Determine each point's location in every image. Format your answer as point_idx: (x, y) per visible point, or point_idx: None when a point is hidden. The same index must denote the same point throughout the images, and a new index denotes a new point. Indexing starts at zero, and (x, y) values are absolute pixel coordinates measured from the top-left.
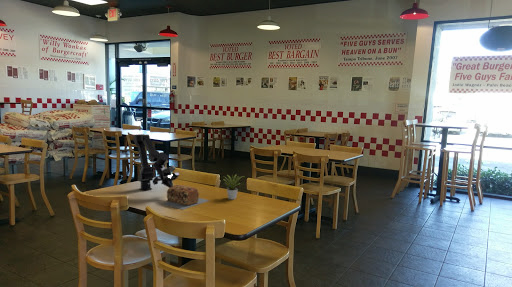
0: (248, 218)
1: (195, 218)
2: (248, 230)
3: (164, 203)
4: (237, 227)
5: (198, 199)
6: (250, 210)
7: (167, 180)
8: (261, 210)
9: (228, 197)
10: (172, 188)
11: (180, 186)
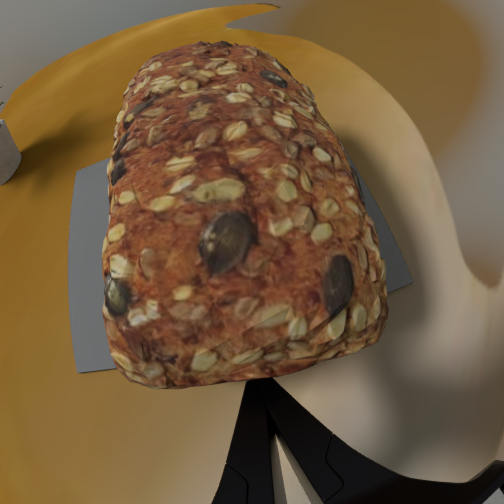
0: (175, 25)
1: (309, 48)
2: (237, 5)
3: (389, 269)
4: (244, 11)
5: (97, 219)
6: (111, 54)
7: (411, 487)
8: (95, 54)
9: (14, 163)
10: (357, 203)
11: (241, 121)
